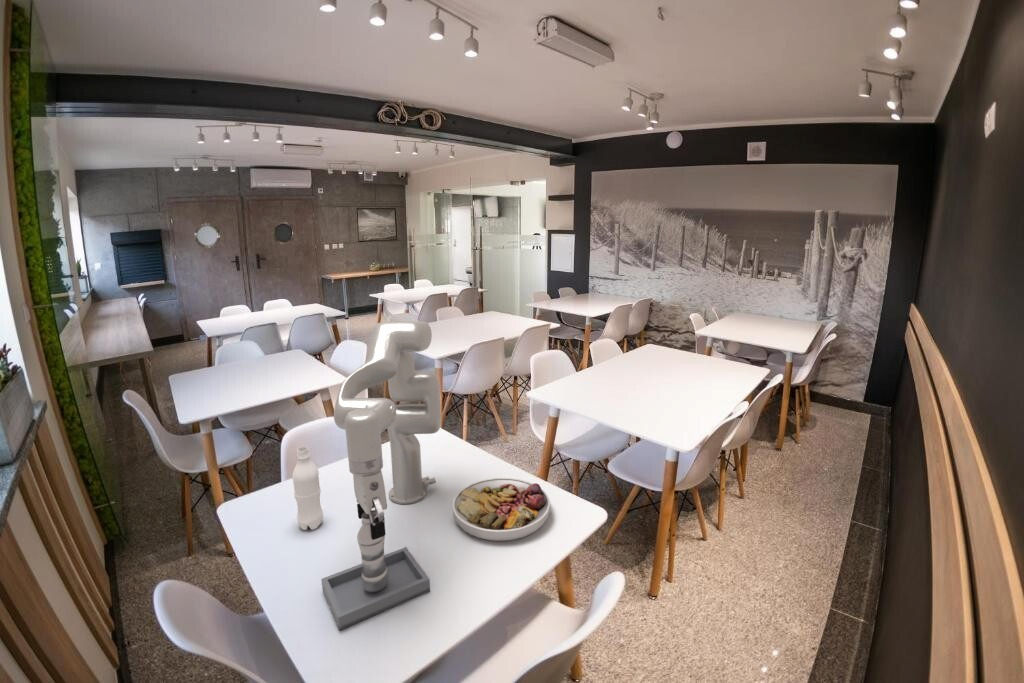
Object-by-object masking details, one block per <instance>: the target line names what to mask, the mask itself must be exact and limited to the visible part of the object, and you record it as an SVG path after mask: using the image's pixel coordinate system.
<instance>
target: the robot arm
mask: <svg viewBox="0 0 1024 683" xmlns="http://www.w3.org/2000/svg"><path fill="white" fill-rule="evenodd" d="M432 335H433V334H432V329H431V326H430V324H429V323H428V322H427V321H424V320H423V321H421V320H420V321H419V320H418V321H416V320H415V321H412V320H411V321H406V320H405V321H399V320H398V321H396V320H395V321H392V320H391V321H382V322H377V323H376V324H374V326H373V327H372V332H371V336H370V339H369V344H368V349H367V352H366V356H365V361H364V363H363V364H362V365H360V366H359V367H358V368H356V369H355V370H353V372H352V373H350V374H349V376H347V377H346V379H345V380H344V381H343V382H342V383H341V385H340V387H339V390H338V392H337V396H336V400H335V404H334V409H333V421H334V423H335V425H336V426H337V427H338V428H339V429H341V430H345V439H346V448H347V449H346V450H347V459H348V468H349V472H350V474H352V475H353V478H352V479H353V489H354V495H355V499H356V502H357V503H356V508H357V516H358V517H357V518H358V519H360V520H362V514H363V513H366V514H368V515H369V516H370V519H371V523H372V524H370V528H371V538H372V540H375V539H378V538H380V537H383V536H385V537H386V524H385V521H386V520H385V512H384V510H387V508H388V502H387V495H386V487H385V481H384V475H383V471H382V469H383V467H384V461H383V448H382V446H383V445H382V438H381V437H382V434H383V432H384V431H386V430H387V432H388V433H387V434H388V438H389V439H388V440H389V447H390V448H389V449H390V459H391V461H390V462H391V472H392V474H391V475H392V488H391V489H390V490H389V491H388V498H389V500H390V501H391V502H393V503H395V504H400V505H409V504H415V503H418V502H420V501H422V500H423V499H424V498H425V497H427V494H428V487H429V486H430V485H435V484H436V483H437V478H436V477H431V478H430V477H429V476H426V477H425V476H424V477H423V475H422V474H423V473H422V472H423V471H422V457H421V456H422V455H421V451H422V450H421V444H420V441H419V439H418V437H417V436H416V435H429V434H431V435H432V434H436V433H438V432H439V431H440V429H441V426H442V425H441V424H442V413H441V412H442V411H441V410H442V408H441V389H440V379H439V377H438V375H437V374H436V373H434V372H433V371H417V370H416V369H415V368H416V367H415V356H414V354H413V353H417V352H418V353H419V352H423V351H426V350H427V349H428V348H429V347H430V345H431V342H432V338H433V337H432ZM384 382H387V383H388V386H387V387H388V393H389V397H390V398H386V397H357V395H358V394H360V393H361V392H363V391H365V390H367V389H369V388H371V387H374V386H377V385H381V384H382V383H384ZM394 401H395V402H400V403H401V402H403V403H402V404H395V403H394ZM404 402H407V403H405V404H404ZM409 402H412V403H409ZM413 402H414V403H413ZM415 402H417V403H418V404H417V403H415ZM419 402H423V403H419ZM373 509H374V510H373ZM371 510H373V511H371ZM374 513H377V517H376V518H375V519H374V517H373V514H374Z"/></svg>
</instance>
